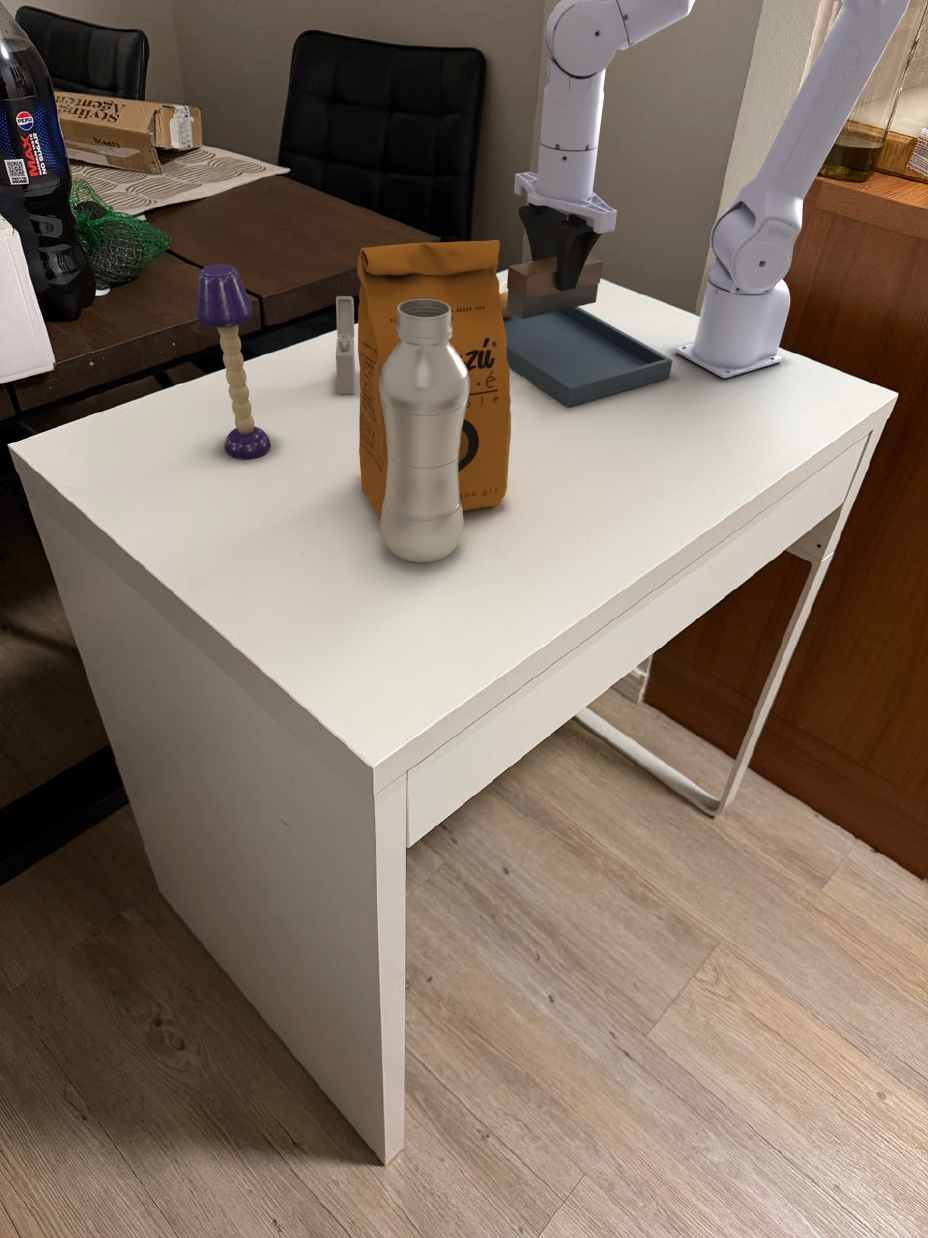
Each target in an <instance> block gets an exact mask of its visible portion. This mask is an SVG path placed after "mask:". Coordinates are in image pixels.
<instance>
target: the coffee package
mask: <svg viewBox="0 0 928 1238" xmlns="http://www.w3.org/2000/svg"><path fill="white" fill-rule="evenodd" d="M500 245H501V243H500V240H498V239H493V240H471V241H470V240H469V241H467V240H465V241H463V240H462V241H449V242H445V241H444V242H427V241H424V242H410V243H400V244H390V245H389V244H388V245H379V246H372V247H361V249H360V250H359V255H358V258H357V259H358V263H357V266H356V267H357V268H356V270H357V275H358V279H359V281H360V289H359V291H358V297H359V304H358V308H357V314H358V315H357V318H358V319H357V354H358V356H357V357H358V364H359V378H358V379H359V389H360V390H359V392H360V393H359V419H358V420H359V421H358V422H359V423H358V424H359V425H358V426H359V427H358V431H359V441H358V442H359V445H358V446H359V447H358V455H359V468H360V482H361V490H362V492H363V494H364V495H365V496H366V498H367V500H368V502H369V504H370V506H371V507H372V509H373V510H374V511H375V512H376V513H377V514H378V516H379V517H380V518H381V512H382V505H383V501H384V498H385V492H386V480H387V468H388V458H387V449H388V448H387V442H386V428H385V422H384V416H383V410H382V404H381V398H380V397H381V396H380V392H379V377H380V374H381V370H382V367H383V365H384V363H385V362H386V360H387V359H388V357H389V355H390V354H391V352H392V351H393V350H394V348H395V347H396V346H397V345H398V343H399V342H400V338H399V337H398V336H397V335H396V325H397V308H398V305H399V304H401V303H403V302H405V301H408V300H414V299H432V300H438V301H441V302H444V303H446V304H448V305H449V306H450V307H451V325H452V327H453V336H452V337H451V338H450V339H449V343H450V344H451V345H452V346H453V348H454V349H455V350H456V352H457V353H458V354H459V356H460V357H461V359H462V361H463V362H464V364H465V365H466V367H467V370H468V374H469V378H470V390H469V396H468V402H467V406H466V411H465V416H464V421H463V426H462V431H461V441H460V449H459V461H458V471H459V493H460V499H461V504H462V509H463V511H470V510H477V509H481V508H489V507H491V508H492V507H494V508H495V507H498V506H500V505H501V503H502V500H503V499H504V498H505V496H506V494H507V491H508V479H509V463H510V461H509V460H510V447H511V440H512V439H511V437H512V413H511V403H512V400H511V399H512V398H511V383H510V382H511V371H510V370H511V369H510V368H509V366H508V361H507V356H506V346H507V339H506V333H505V327H504V321H503V317H502V305H501V297H500V294H501V293H500V292H501V291H500V280H499V278H498V276H497V269H498V265H499V252H500Z"/></svg>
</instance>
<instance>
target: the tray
mask: <svg viewBox="0 0 928 1238" xmlns="http://www.w3.org/2000/svg"><path fill="white" fill-rule="evenodd" d="M503 321H504V327H505V333H506V339H507V346H506V356H507V361H508V366H509V369H510V370H512V371H514V372H515V373H517V374H518V375H520V376H521V377H522V378H524V379H526V381H528V382H529V383H531V384H533V385H534V386H535V387H537V388H539V389H540V390H542V391H543V392H545V393H546V394H547V395H549V396H551V397H552V398H553V399H555V400H556V401H558V402H559V403H561V404H562V405H563V406H565V407H567V408H571V407H574V406H578V405H581V404H585V403H588V402H591V401H594V400H598V399H602V398H605V397H609V396H613V395H615V394H619V393H622V392H625V391H629V390H632V389H636V388H640V387H642V386H646V385H649V384H653V383H657V382H660V381H663V380H667V379H670V376H671V372H672V366H673V361H674V360H673V359H672V358H670V357H668V356H667V355H664V354H663V353H661V352H659V351H657V350H656V349H654V348H652V347H650V346H649V345H647V344H645V343H643V342H642V341H640V340H639V339H636V338H635V337H633V336H631V335H629V334H628V333H626V332H625V331H624V332H623V331H622V330H620V329H618V327H615V326H613V325H611V324H610V323H608V322H606V321H604V320H603V319H601V318H599V317H597V316H596V315H594V314H592V313H590V312H589V311H587V310H585V309H584V308H581V306H578V307H574V308H569V309H565V310H561V311H556V312H552V313H548V314H543V315H539V316H534V317H530V318H526V319H521V318H520V317H518V316H517V315H515V316H513V317H511V318H503Z"/></svg>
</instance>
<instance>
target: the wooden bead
mask: <svg viewBox="0 0 928 1238" xmlns="http://www.w3.org/2000/svg"><path fill="white" fill-rule="evenodd" d="M500 297H501V305H502V317H503V318H511V317H513V316H515V314H513V313H512V312H510V311H508V310H507V298H508V291H503V292H501V293H500Z"/></svg>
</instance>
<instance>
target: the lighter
mask: <svg viewBox="0 0 928 1238" xmlns="http://www.w3.org/2000/svg"><path fill="white" fill-rule="evenodd" d="M354 304H355V300H354V297H353V296H352V295H337V296H336V297H335V307H336V311H335V312H336V337H337V338H336V345H335V347H336V348H335V366H336V367H335V368H336V385H337V386H336V387H337V394H338V395H355V393H356V359H355V358H356V356H355V352H356V351H355V339H354V338H355V305H354Z"/></svg>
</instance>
